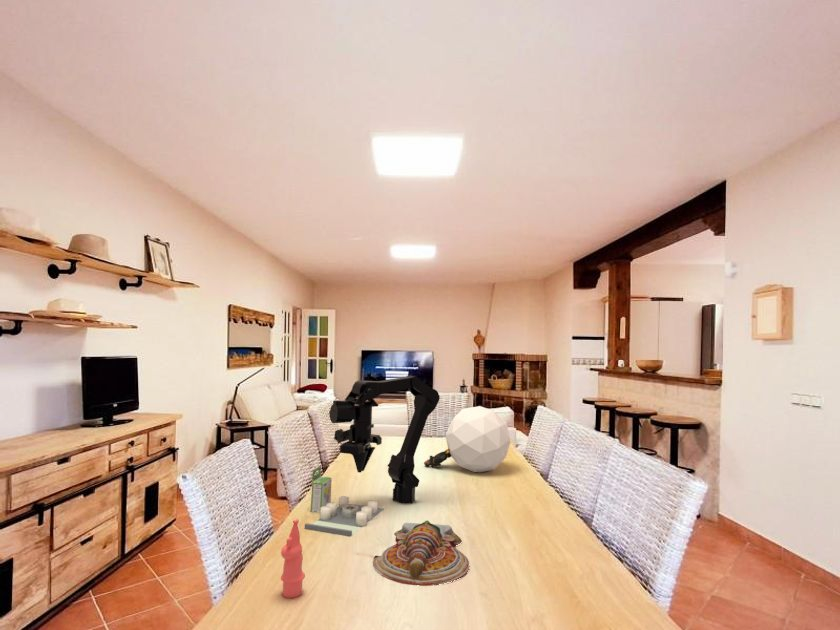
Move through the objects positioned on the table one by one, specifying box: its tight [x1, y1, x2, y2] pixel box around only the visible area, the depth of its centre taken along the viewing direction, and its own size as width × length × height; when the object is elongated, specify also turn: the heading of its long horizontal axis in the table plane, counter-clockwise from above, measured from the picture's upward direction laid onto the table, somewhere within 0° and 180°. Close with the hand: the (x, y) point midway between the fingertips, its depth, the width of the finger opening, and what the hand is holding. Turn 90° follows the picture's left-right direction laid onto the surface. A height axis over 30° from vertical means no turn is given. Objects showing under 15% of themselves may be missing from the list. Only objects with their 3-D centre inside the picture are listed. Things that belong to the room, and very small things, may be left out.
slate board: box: [304, 503, 385, 537], centre depth 143 cm, size 14×24×2 cm, turn 162°
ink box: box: [310, 465, 333, 514], centre depth 150 cm, size 7×4×13 cm, turn 168°
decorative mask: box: [372, 520, 471, 587], centre depth 121 cm, size 24×8×30 cm
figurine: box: [280, 518, 306, 599], centre depth 102 cm, size 5×5×15 cm
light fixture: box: [423, 405, 511, 473], centre depth 208 cm, size 27×40×28 cm
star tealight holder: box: [342, 505, 358, 519], centre depth 145 cm, size 5×5×2 cm
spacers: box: [319, 495, 378, 528], centre depth 145 cm, size 14×14×3 cm
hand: (360, 471), depth 151 cm, fingers closed
